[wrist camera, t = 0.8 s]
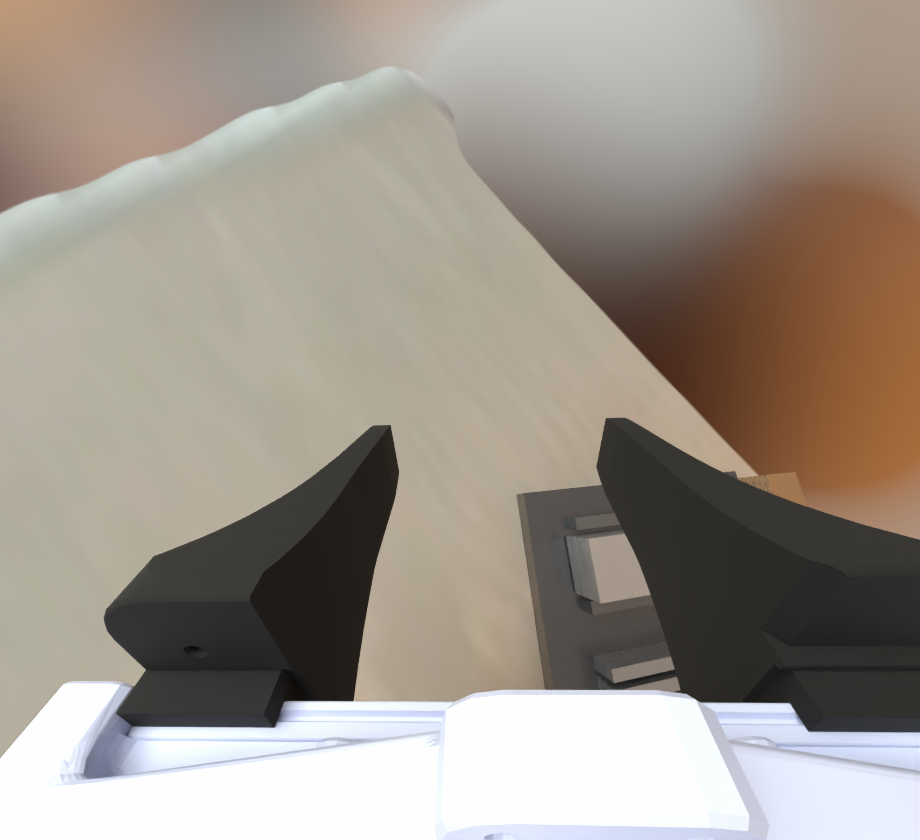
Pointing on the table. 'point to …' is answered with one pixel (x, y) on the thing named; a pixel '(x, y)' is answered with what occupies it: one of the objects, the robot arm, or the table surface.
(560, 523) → the base
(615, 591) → the bar
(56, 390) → the table surface
